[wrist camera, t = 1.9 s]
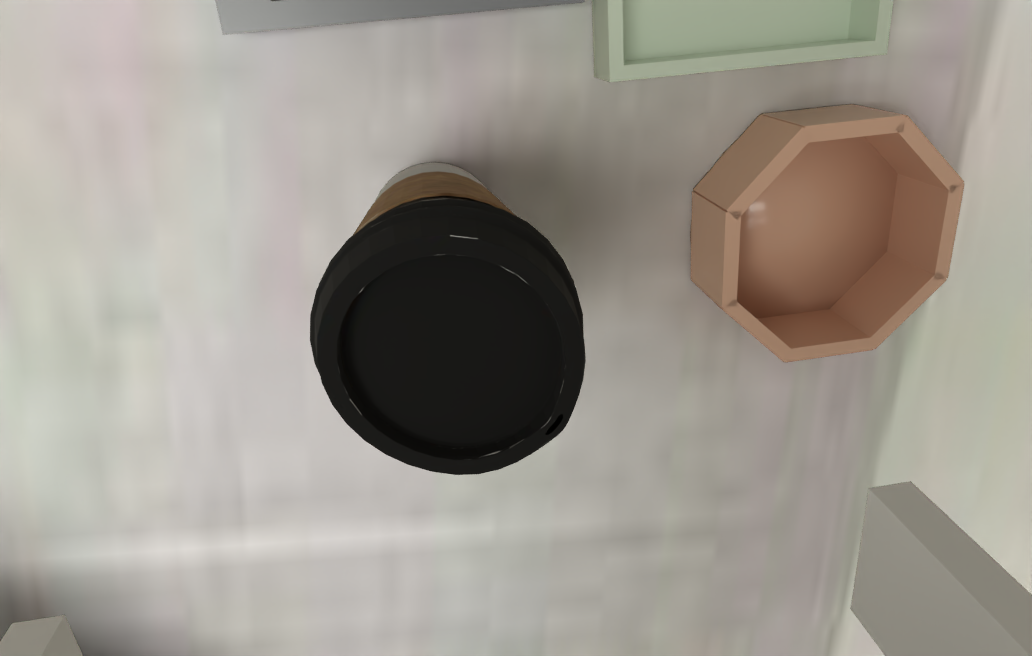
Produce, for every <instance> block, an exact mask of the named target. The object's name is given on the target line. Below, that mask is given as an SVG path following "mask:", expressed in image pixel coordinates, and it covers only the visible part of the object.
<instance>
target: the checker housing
mask: <svg viewBox="0 0 1032 656" xmlns="http://www.w3.org/2000/svg"><path fill="white" fill-rule="evenodd" d="M215 1H216V6H217V10H218V14H219V19H220V23H221V27H222V32H223V35H227V34H238V33H249V32H260V31H271V30H282V29H293V28H304V27H316V26H327V25H338V24H349V23H360V22H371V21H382V20H393V19H404V18H415V17H426V16H437V15H448V14H460V13H471V12H482V11H493V10H504V9H515V8H526V7H537V6H548V5H559V4H570V3H581V2H584V0H215Z"/></svg>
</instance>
